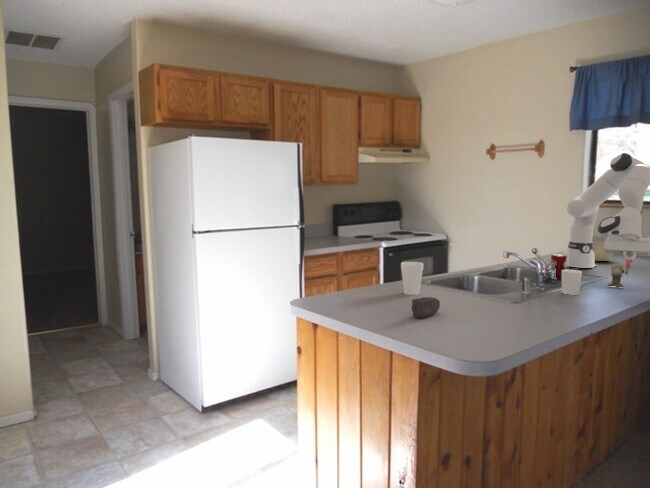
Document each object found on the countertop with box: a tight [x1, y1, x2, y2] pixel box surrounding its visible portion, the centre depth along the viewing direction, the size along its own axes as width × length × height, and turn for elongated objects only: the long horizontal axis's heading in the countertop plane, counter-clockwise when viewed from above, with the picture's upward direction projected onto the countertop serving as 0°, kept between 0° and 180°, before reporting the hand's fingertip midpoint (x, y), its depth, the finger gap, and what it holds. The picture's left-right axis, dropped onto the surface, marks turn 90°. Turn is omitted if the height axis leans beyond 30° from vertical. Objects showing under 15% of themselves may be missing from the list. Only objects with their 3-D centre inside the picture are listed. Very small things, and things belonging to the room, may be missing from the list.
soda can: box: [550, 253, 568, 281], centre depth 246 cm, size 7×7×12 cm
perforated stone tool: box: [410, 296, 441, 319], centre depth 178 cm, size 15×5×7 cm, turn 129°
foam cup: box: [400, 261, 424, 296], centre depth 213 cm, size 10×9×13 cm
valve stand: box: [608, 264, 625, 288], centre depth 229 cm, size 10×6×9 cm, turn 150°
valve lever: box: [624, 260, 632, 275], centre depth 221 cm, size 2×2×16 cm
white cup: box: [561, 268, 583, 295], centre depth 212 cm, size 8×8×10 cm
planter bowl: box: [592, 241, 614, 262], centre depth 301 cm, size 16×16×11 cm
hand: (629, 261), depth 217 cm, fingers closed, pressing on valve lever
